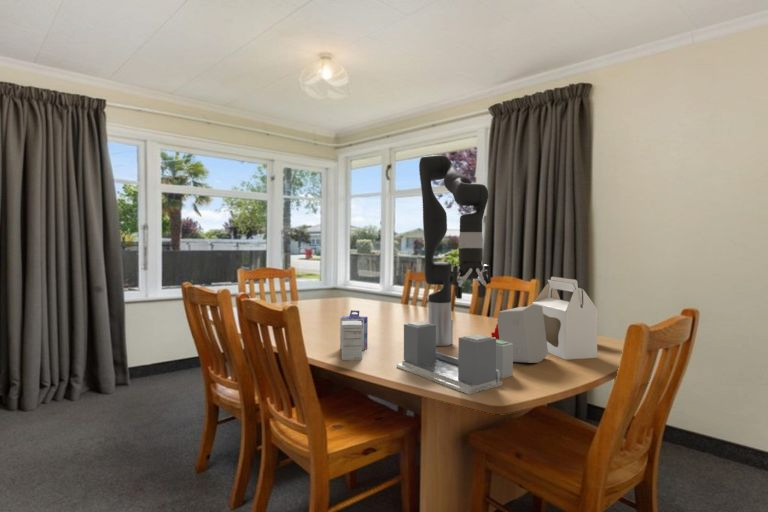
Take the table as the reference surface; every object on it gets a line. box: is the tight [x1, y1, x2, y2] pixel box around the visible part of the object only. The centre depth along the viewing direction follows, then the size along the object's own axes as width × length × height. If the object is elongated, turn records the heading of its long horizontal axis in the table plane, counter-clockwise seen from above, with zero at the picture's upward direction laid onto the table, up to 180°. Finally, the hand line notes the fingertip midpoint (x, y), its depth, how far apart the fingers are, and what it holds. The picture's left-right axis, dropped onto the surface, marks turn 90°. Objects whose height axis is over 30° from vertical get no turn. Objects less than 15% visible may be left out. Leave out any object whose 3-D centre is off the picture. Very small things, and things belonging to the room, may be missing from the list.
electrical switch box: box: [491, 304, 549, 364], centre depth 158 cm, size 15×15×20 cm
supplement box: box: [341, 321, 363, 361], centre depth 157 cm, size 7×7×13 cm
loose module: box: [496, 339, 514, 379], centre depth 139 cm, size 5×8×10 cm, turn 36°
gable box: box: [531, 276, 599, 361], centre depth 167 cm, size 22×13×28 cm, turn 12°
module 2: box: [457, 333, 496, 386], centre depth 126 cm, size 8×7×12 cm
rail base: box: [396, 351, 503, 395], centre depth 137 cm, size 14×32×4 cm, turn 36°
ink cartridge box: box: [339, 309, 369, 351], centre depth 171 cm, size 10×6×14 cm, turn 78°
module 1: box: [403, 321, 437, 365], centre depth 146 cm, size 8×7×12 cm
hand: (470, 297), depth 140 cm, fingers open, 8 cm apart
